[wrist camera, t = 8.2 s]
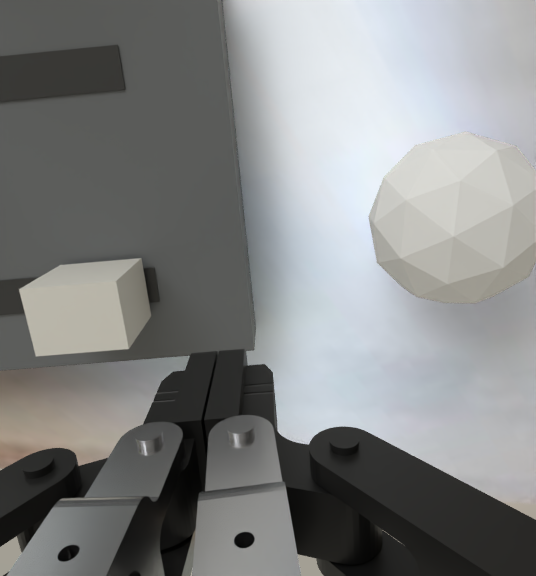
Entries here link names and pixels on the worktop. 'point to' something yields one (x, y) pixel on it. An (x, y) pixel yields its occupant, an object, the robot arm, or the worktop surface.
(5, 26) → the breaker panel
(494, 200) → the ball
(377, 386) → the worktop surface
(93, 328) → the block
